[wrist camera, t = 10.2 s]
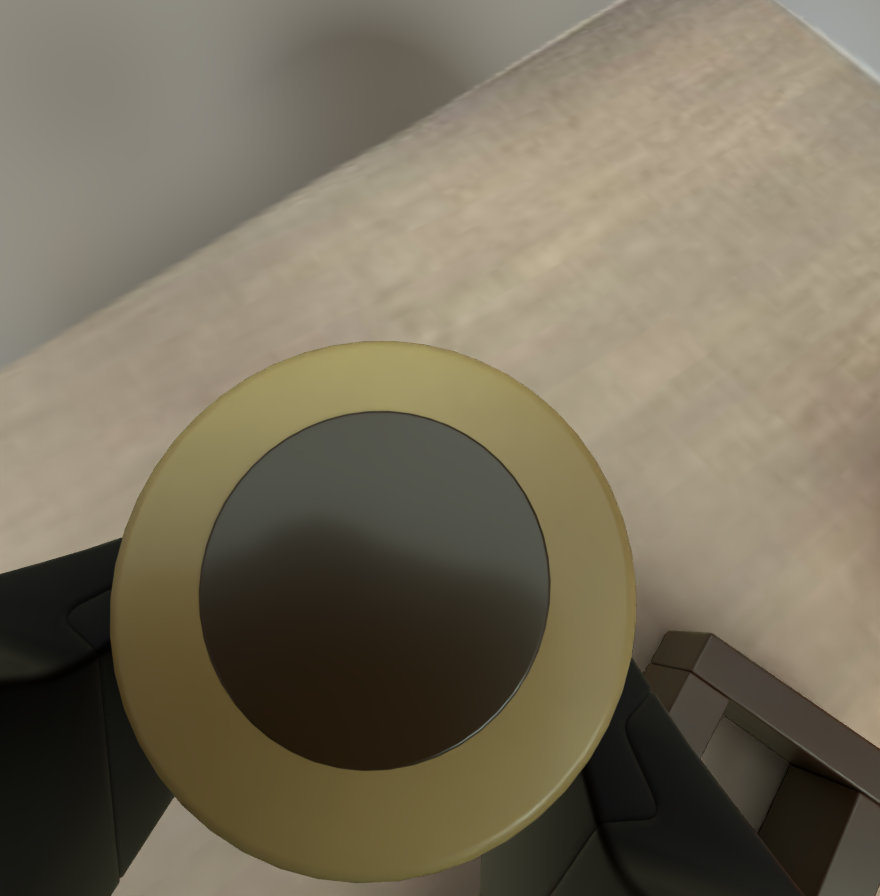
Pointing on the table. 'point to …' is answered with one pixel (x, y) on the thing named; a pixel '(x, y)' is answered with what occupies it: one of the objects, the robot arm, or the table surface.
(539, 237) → the table surface
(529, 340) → the table surface
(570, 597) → the tan hollow tube
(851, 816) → the rack
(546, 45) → the table surface
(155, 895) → the table surface
